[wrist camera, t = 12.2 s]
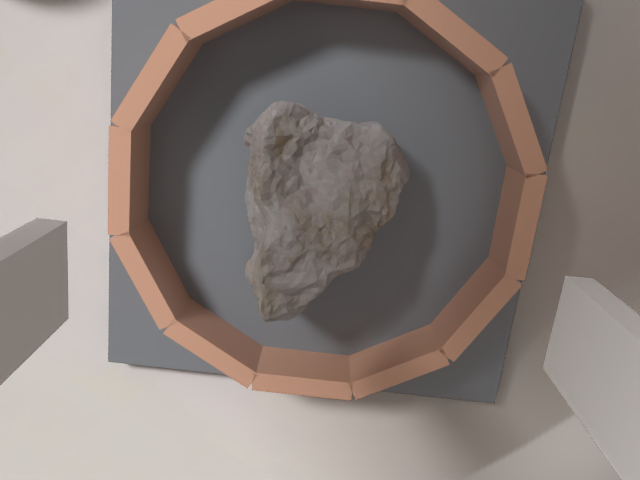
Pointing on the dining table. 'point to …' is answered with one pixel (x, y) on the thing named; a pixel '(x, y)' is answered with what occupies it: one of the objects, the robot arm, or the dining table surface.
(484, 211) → the socket
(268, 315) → the stone
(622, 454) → the robot arm
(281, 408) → the dining table surface
